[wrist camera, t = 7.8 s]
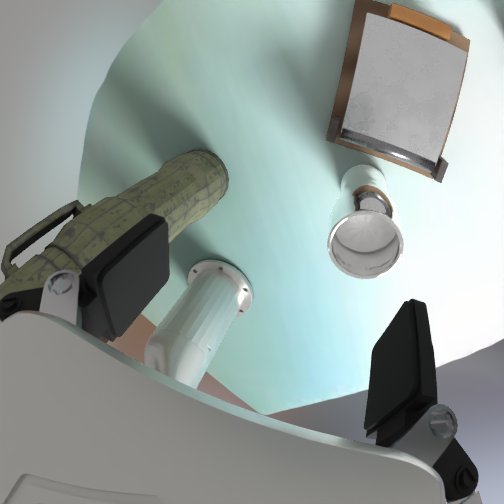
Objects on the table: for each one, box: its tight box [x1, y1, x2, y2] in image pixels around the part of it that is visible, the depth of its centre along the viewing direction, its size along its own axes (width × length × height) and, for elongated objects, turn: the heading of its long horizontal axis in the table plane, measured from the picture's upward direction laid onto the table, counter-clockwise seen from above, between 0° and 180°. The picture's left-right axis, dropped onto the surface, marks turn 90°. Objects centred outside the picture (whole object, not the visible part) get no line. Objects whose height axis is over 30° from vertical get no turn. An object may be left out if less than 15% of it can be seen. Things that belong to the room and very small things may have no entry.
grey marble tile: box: [340, 13, 467, 173], centre depth 23 cm, size 15×11×2 cm
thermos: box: [0, 149, 229, 343], centre depth 28 cm, size 9×12×35 cm
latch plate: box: [326, 0, 470, 183], centre depth 24 cm, size 19×14×6 cm
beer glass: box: [328, 164, 403, 279], centre depth 29 cm, size 7×7×15 cm
